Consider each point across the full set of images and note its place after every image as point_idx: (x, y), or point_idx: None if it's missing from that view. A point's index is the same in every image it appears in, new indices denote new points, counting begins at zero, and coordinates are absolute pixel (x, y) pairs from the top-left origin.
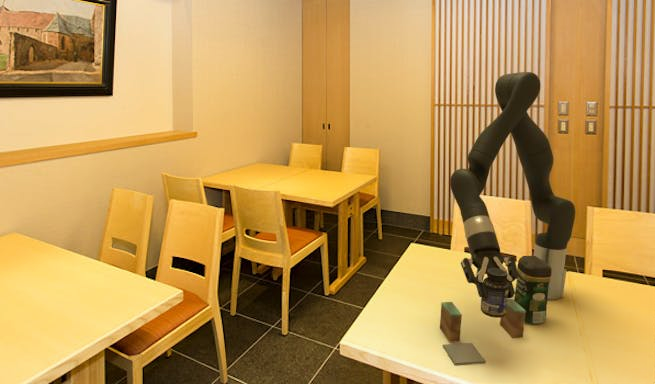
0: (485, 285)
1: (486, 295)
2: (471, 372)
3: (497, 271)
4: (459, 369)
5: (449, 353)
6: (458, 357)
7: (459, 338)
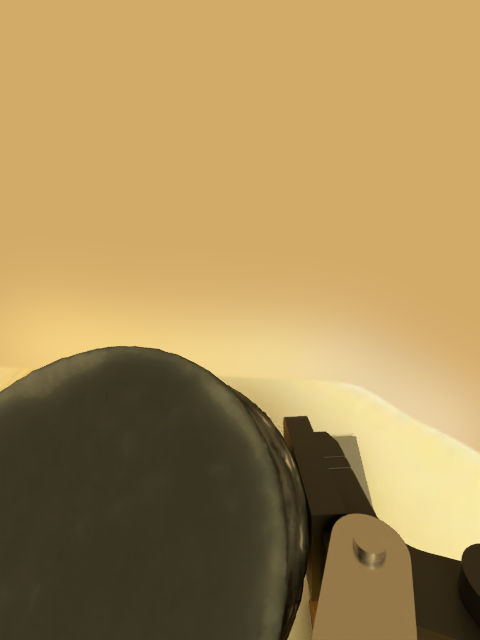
0: (299, 476)
1: (294, 417)
2: (312, 403)
3: (54, 562)
4: (342, 418)
5: (366, 491)
6: None
7: (313, 605)
